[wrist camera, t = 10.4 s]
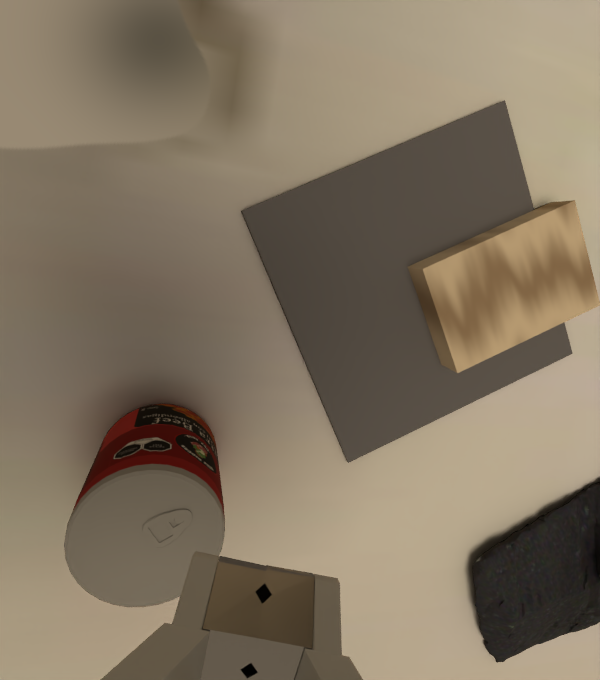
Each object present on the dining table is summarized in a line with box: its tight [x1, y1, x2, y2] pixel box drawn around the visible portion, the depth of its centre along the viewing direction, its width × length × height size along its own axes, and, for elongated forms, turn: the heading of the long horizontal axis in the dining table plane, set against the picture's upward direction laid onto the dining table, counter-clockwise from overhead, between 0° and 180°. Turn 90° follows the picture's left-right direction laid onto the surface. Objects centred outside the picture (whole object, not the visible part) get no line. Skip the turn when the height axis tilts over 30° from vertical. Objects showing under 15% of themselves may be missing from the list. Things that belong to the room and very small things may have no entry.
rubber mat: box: [241, 100, 572, 463], centre depth 38 cm, size 20×20×1 cm
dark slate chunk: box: [473, 482, 600, 662], centre depth 44 cm, size 15×22×5 cm
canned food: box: [64, 404, 225, 607], centre depth 31 cm, size 8×8×11 cm
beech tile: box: [408, 200, 600, 373], centre depth 37 cm, size 8×2×12 cm
